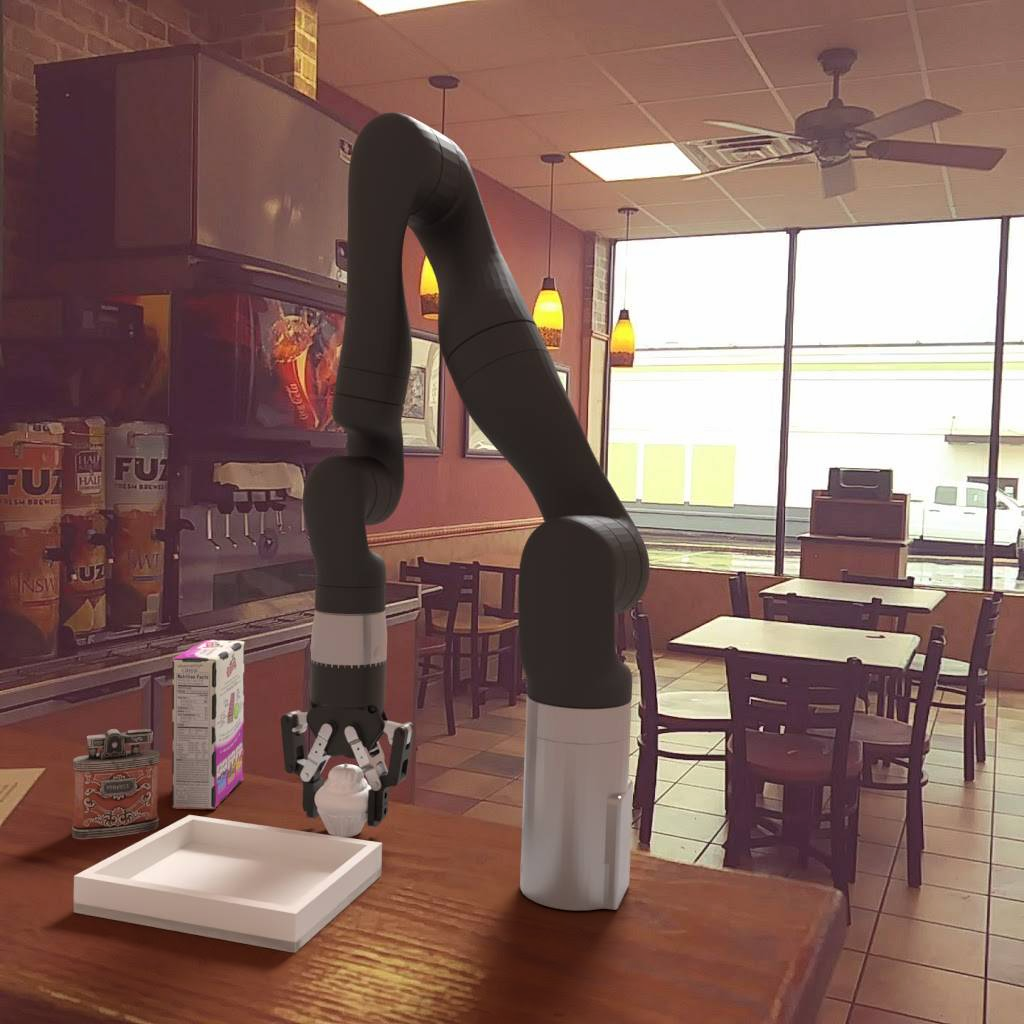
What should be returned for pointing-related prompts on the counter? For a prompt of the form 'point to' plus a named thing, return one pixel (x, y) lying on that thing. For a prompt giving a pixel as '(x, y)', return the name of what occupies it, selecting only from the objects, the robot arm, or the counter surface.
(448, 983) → the counter surface
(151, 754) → the lighter
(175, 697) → the candy bar box
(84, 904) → the tray
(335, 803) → the muffin
